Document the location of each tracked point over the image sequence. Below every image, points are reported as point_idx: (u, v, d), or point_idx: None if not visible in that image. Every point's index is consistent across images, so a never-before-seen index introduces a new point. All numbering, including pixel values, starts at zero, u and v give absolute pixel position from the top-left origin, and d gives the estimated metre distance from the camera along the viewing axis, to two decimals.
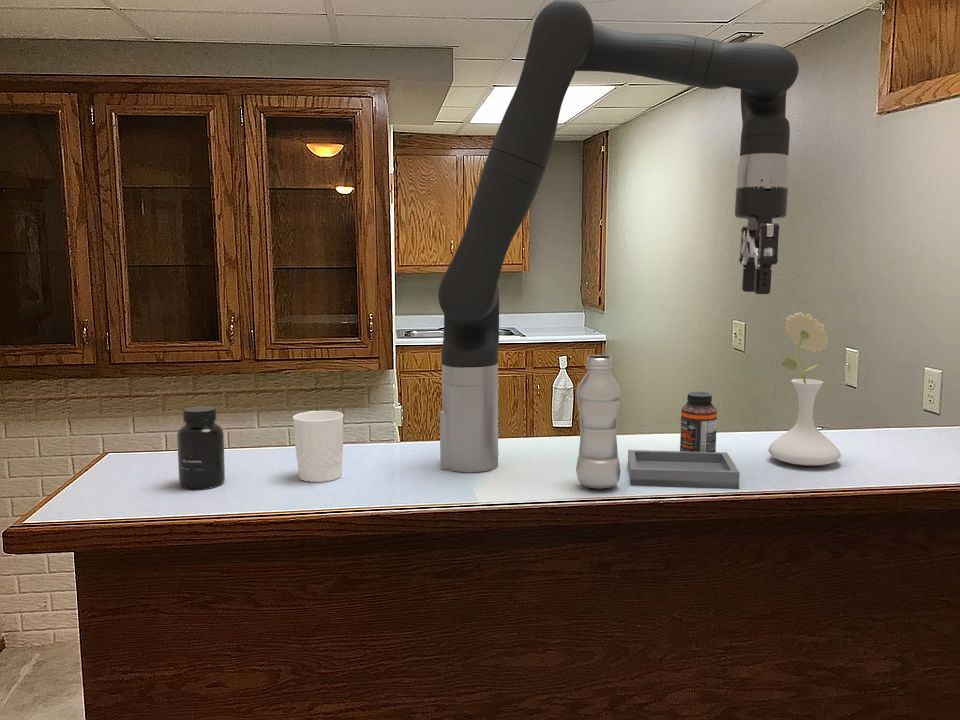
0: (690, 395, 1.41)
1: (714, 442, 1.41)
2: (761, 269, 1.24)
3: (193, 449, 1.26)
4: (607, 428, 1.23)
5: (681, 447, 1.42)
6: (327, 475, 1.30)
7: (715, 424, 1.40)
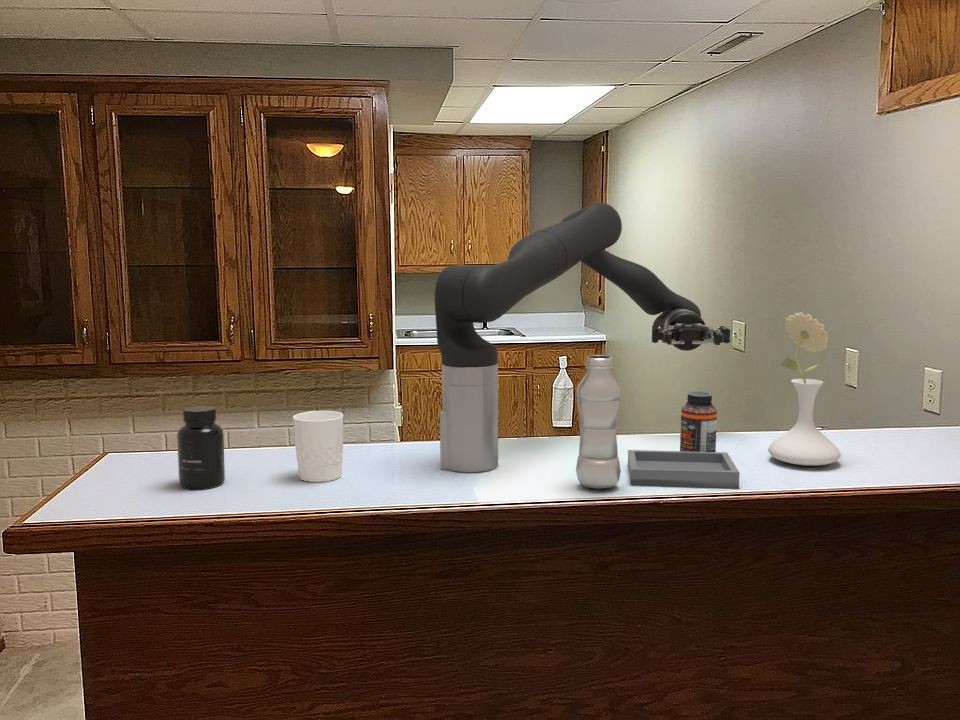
0: (690, 395, 1.41)
1: (714, 442, 1.41)
2: (721, 333, 1.53)
3: (193, 449, 1.26)
4: (607, 428, 1.23)
5: (681, 447, 1.42)
6: (327, 475, 1.30)
7: (715, 424, 1.40)
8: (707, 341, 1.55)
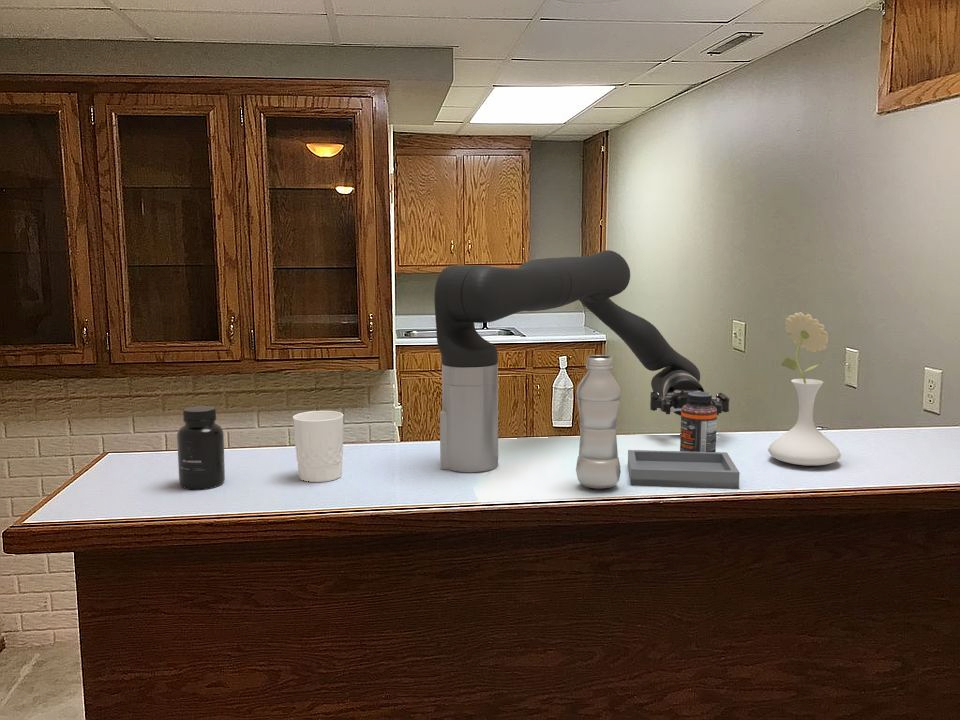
0: (690, 395, 1.41)
1: (714, 442, 1.41)
2: (720, 403, 1.53)
3: (193, 449, 1.26)
4: (607, 428, 1.23)
5: (681, 447, 1.42)
6: (327, 475, 1.30)
7: (715, 424, 1.40)
8: None
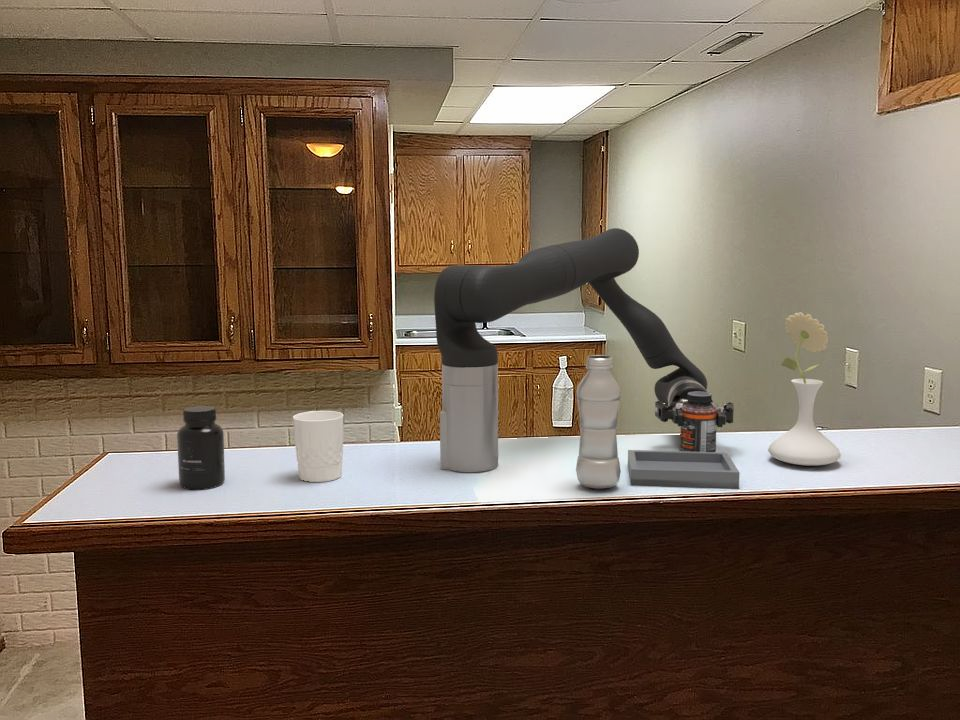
0: (690, 395, 1.41)
1: (714, 442, 1.41)
2: (724, 413, 1.43)
3: (193, 449, 1.26)
4: (607, 428, 1.23)
5: (681, 447, 1.42)
6: (327, 475, 1.30)
7: (715, 424, 1.40)
8: None
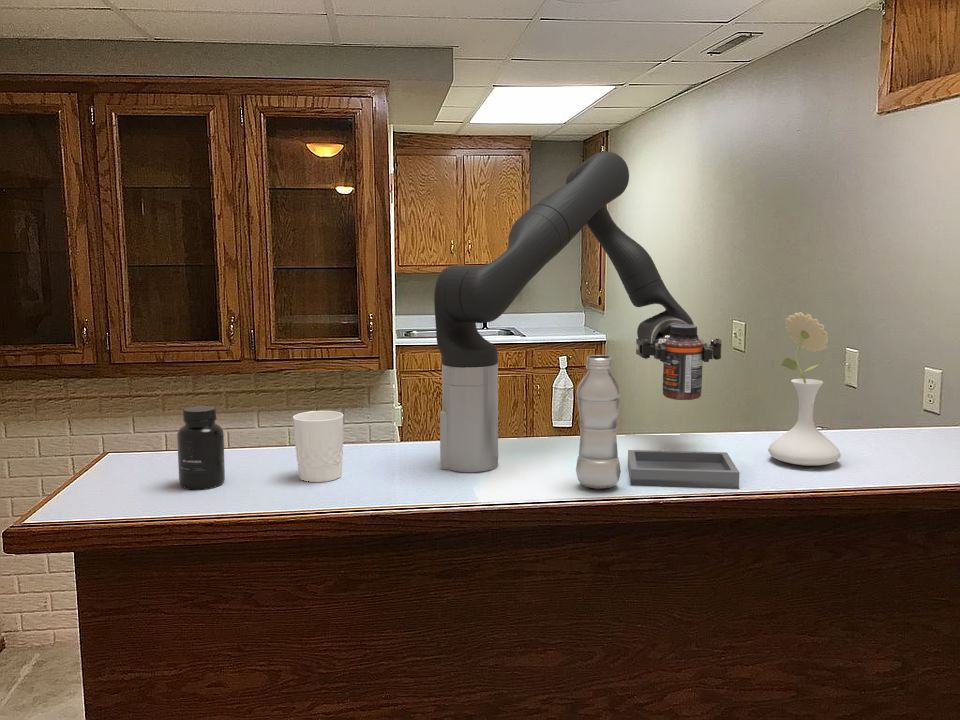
0: (673, 327, 1.28)
1: (700, 378, 1.28)
2: (710, 348, 1.30)
3: (193, 449, 1.26)
4: (607, 428, 1.23)
5: (664, 385, 1.30)
6: (327, 475, 1.30)
7: (701, 359, 1.28)
8: None
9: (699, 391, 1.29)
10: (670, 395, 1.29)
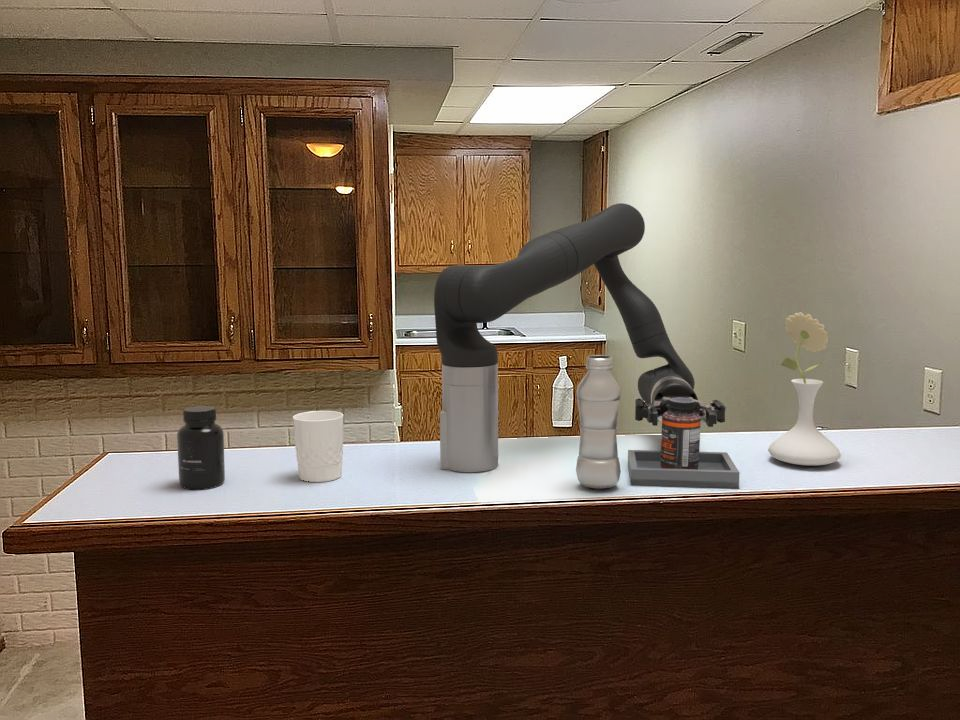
0: (672, 401, 1.30)
1: (697, 452, 1.30)
2: (715, 412, 1.32)
3: (193, 449, 1.26)
4: (607, 428, 1.23)
5: (662, 457, 1.32)
6: (327, 475, 1.30)
7: (698, 433, 1.30)
8: None
9: (696, 464, 1.30)
10: (667, 468, 1.30)
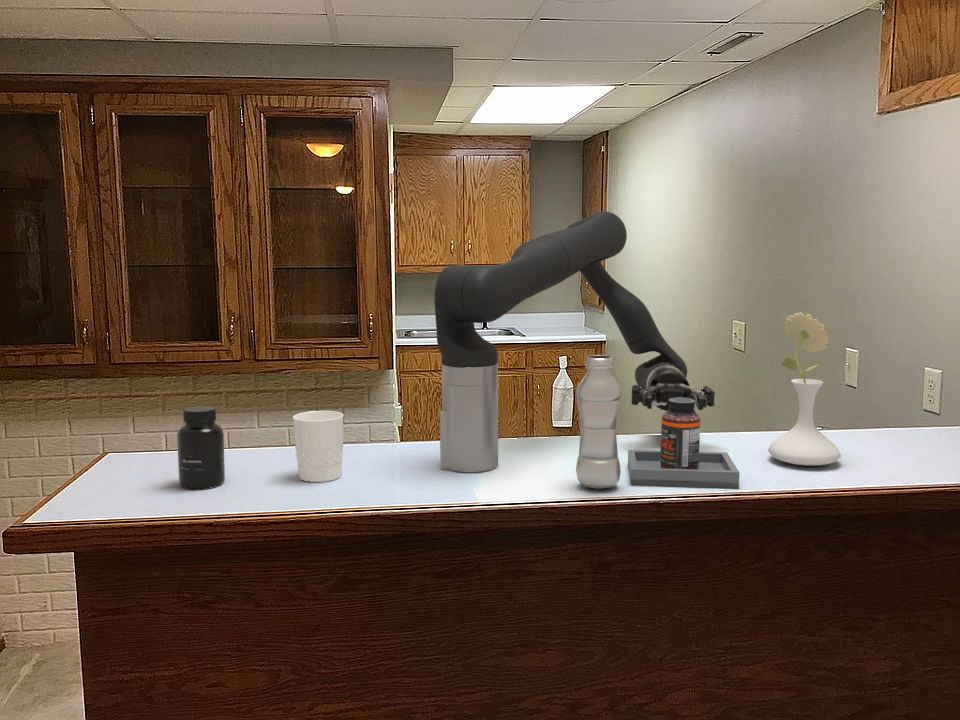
0: (671, 401, 1.30)
1: (697, 452, 1.30)
2: (705, 396, 1.44)
3: (193, 449, 1.26)
4: (607, 428, 1.23)
5: (661, 458, 1.32)
6: (327, 475, 1.30)
7: (698, 433, 1.30)
8: None
9: (696, 465, 1.30)
10: (667, 468, 1.30)
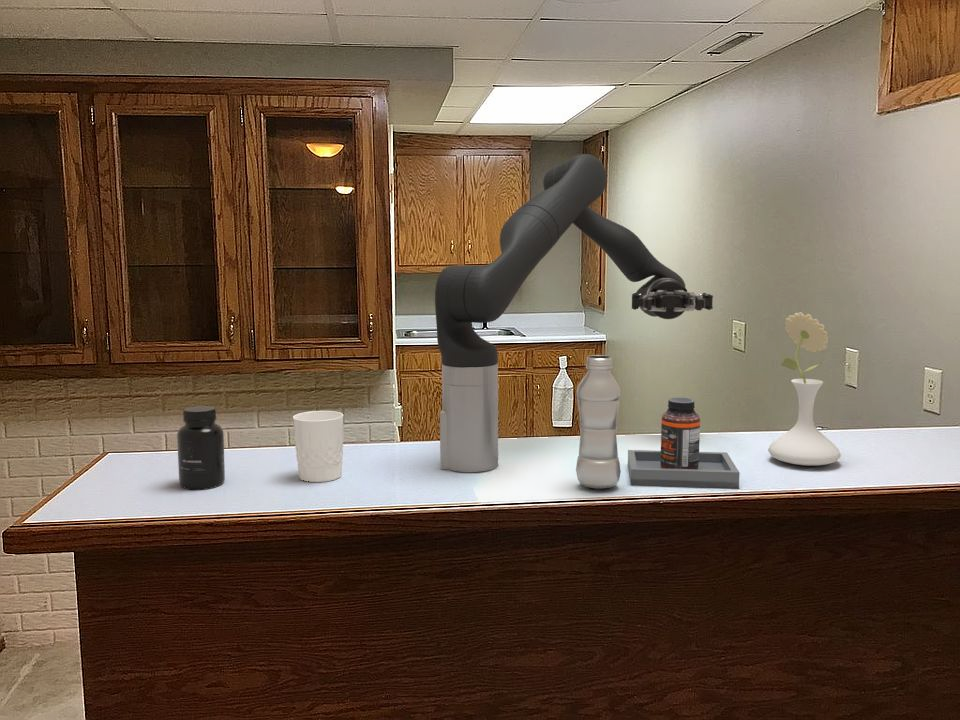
0: (671, 401, 1.30)
1: (697, 452, 1.30)
2: None
3: (193, 449, 1.26)
4: (607, 428, 1.23)
5: (661, 458, 1.32)
6: (327, 475, 1.30)
7: (698, 433, 1.30)
8: (689, 308, 1.50)
9: (696, 464, 1.30)
10: (667, 468, 1.30)
